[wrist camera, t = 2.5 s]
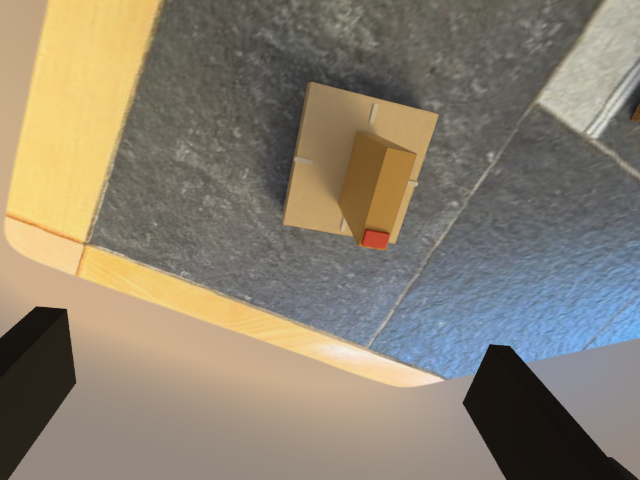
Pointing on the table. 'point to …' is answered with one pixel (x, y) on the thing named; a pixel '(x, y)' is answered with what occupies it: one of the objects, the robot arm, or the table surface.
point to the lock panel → (346, 152)
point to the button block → (636, 114)
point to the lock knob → (374, 188)
